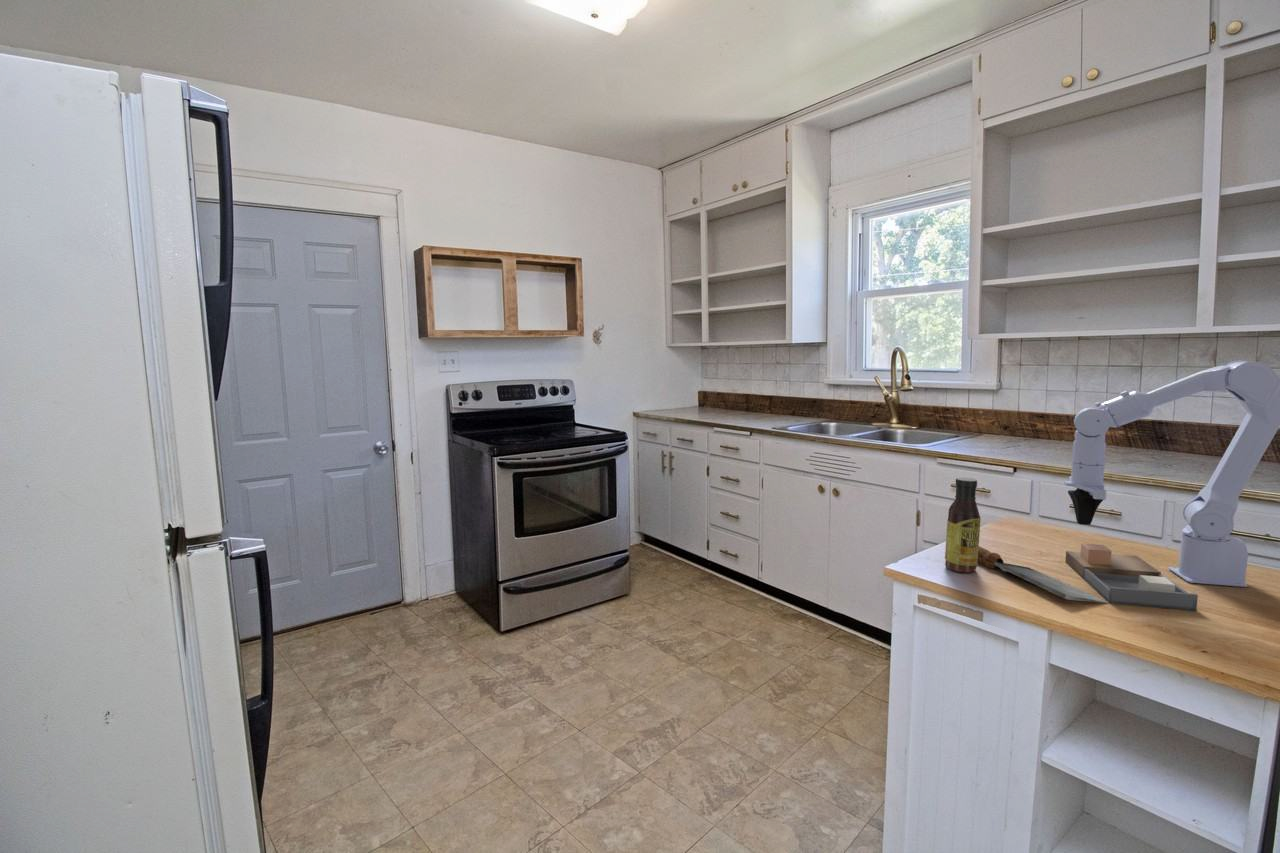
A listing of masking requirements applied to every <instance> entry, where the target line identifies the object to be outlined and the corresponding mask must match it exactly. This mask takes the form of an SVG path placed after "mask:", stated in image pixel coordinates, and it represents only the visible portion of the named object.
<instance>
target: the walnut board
mask: <svg viewBox="0 0 1280 853" xmlns="http://www.w3.org/2000/svg"><path fill="white" fill-rule="evenodd" d="M1080 553H1081V551H1072V550H1071V551H1069V550H1068V551H1065V559H1064V560H1065V563H1066V564H1067V565H1068V566H1069V567H1070V568H1071V569H1072V570H1073V571H1074V572H1076V573H1077V574H1078V576H1080V577H1081V578H1082V579H1083V580H1084V569H1088V570H1090V571H1091V572H1092V573H1104V574H1117V575H1130V576H1139V575H1145V576H1157V577H1158V574H1162V571H1159V570H1158V569H1157V568H1155V567H1154V566H1153V565H1152V564H1150V563H1148V562H1147V561H1146V560H1144V559H1142V558H1140V557H1139V556H1138V555H1131V554H1129V555H1128V554H1126V555H1124V554H1114V553H1113V554H1112V553H1111V565H1105V564H1091V563H1087V562H1086V561H1084V560H1083V559H1082V558H1081V557H1080Z"/></svg>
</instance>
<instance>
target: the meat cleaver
mask: <svg viewBox="0 0 1280 853" xmlns="http://www.w3.org/2000/svg"><path fill="white" fill-rule="evenodd" d="M977 564H980V565H984V566H985V567H986V568H987V569H990V570H1000V569H1002V570H1004V571H1007V572H1008V573H1011V574H1012V575H1014V576H1017V577H1019V578H1020V579H1022V580H1025V581H1026V582H1029V583H1031V584H1033V585H1036V586H1037V587H1039V588H1042V589H1044V590H1046V591H1048V592H1049V593H1051V594H1053V595H1057V596H1058V597H1060V598H1063V599H1065V600H1069V601H1078V602H1079V601H1080V602H1089V603H1090V602H1091V603H1101V604H1110V603H1109V602H1108V601H1107V600H1106V599H1105V600H1104V599H1103V598H1101V597H1098V596H1096V595H1094V594H1091V593H1090V592H1087V591H1085V590H1082V589H1080V588H1078V587H1075V586H1073V585H1070V584H1069V583H1066V582H1063V581H1061V580H1059V579H1056V578H1054V577H1052V576H1049V575H1048V574H1045V573H1043V572H1040V571H1038V570H1036V569H1034V568H1032V567H1028V566H1022V565H1018V564H1012V563H1011V564H1010V563H1006V562H1004V560H1003V558H1002V557H1001V555H1000V554H999V553H997V552H991V551H989V549H986V548H984V547H981V546H979V548H978V562H977ZM1031 568H1032V569H1031Z"/></svg>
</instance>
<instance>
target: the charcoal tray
mask: <svg viewBox="0 0 1280 853" xmlns="http://www.w3.org/2000/svg"><path fill="white" fill-rule="evenodd" d="M1158 577H1165V578H1167V577H1166V576H1165V575H1163V574H1162V573H1161V574H1158ZM1167 579H1168V580H1169V581H1171V582H1172V583H1173V584H1175V592H1169V591H1156V590H1144V589H1138V585H1139V576H1130V575H1117V574H1104V573H1092V572H1091V571H1090V570H1088V569H1084V579H1083V580H1084V581H1085V582H1087V583H1088V585H1090V586H1091V587H1092V588H1093V589H1094V590H1095V591H1096V592H1097V593H1098V594H1099V595H1101V597H1102V598H1104V599H1105V601H1108V602H1109V603H1108V604H1113V605H1114V604H1115V605H1123V606H1124V605H1125V606H1133V607H1134V606H1136V607H1147V608H1159V609H1170V610H1179V611H1180V610H1181V611H1191V612H1192V611H1193V612H1197V609H1198V608H1197V606H1198V600H1199V599H1198V597H1199V595H1198V593H1192V592H1191V593H1190V592H1187V590H1185V589H1183V588H1182V587H1181V586H1179V585H1177V584H1176V583H1174V582H1173V581H1172V580H1171V579H1169V578H1167Z"/></svg>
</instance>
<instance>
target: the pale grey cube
mask: <svg viewBox="0 0 1280 853" xmlns="http://www.w3.org/2000/svg"><path fill="white" fill-rule="evenodd" d="M1165 577H1166V576H1165ZM1165 577H1157V576H1145V575H1139V585H1138V589H1144V590H1156V591H1169V592H1175V584H1176V583H1175V584H1173V583H1174V582H1173V581H1172V580H1170V579H1169V578H1168V577H1166V578H1165ZM1168 579H1169V580H1170V581H1169V580H1168ZM1171 581H1172V582H1173V583H1172V582H1171Z"/></svg>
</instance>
